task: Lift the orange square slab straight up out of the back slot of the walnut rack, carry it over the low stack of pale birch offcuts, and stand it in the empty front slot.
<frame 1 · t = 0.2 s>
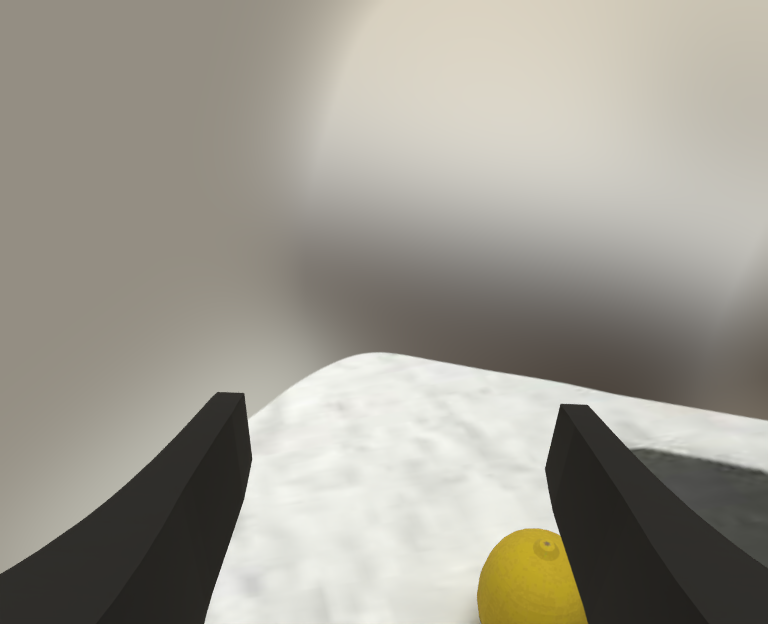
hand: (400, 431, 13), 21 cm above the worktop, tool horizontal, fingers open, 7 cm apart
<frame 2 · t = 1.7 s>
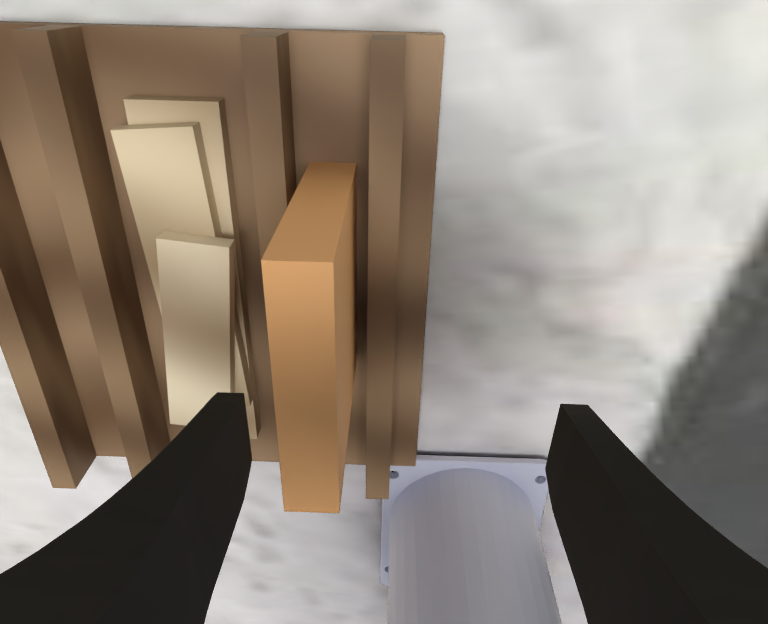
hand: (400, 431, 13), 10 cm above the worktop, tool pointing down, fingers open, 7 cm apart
orange square slab: (335, 268, 22), point 1 cm above the worktop, touching rack
offcut stack: (206, 287, 22), point 1 cm above the worktop, touching rack
rack: (226, 276, 23), on the worktop
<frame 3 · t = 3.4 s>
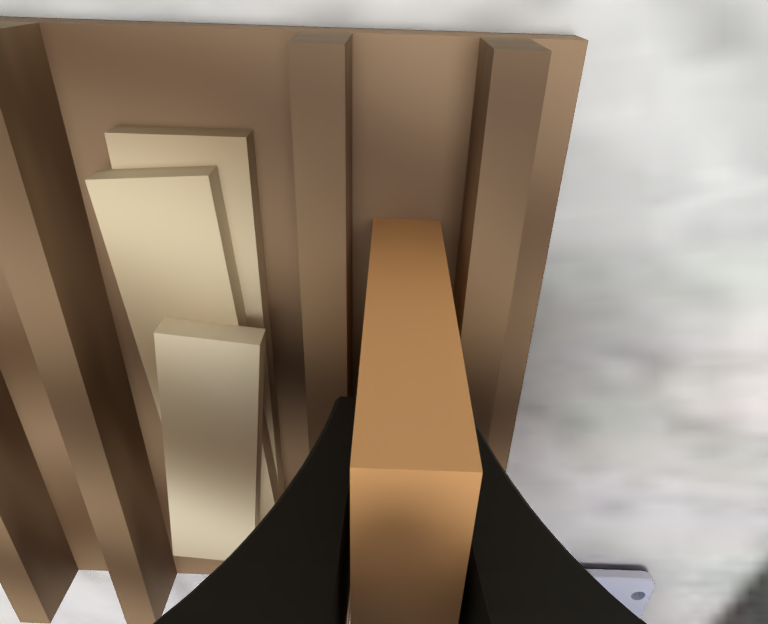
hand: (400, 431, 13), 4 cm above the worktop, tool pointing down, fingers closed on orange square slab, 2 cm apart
orange square slab: (399, 356, 16), point 1 cm above the worktop, touching gripper, rack
offcut stack: (222, 378, 16), point 1 cm above the worktop, touching rack
rack: (247, 358, 17), on the worktop
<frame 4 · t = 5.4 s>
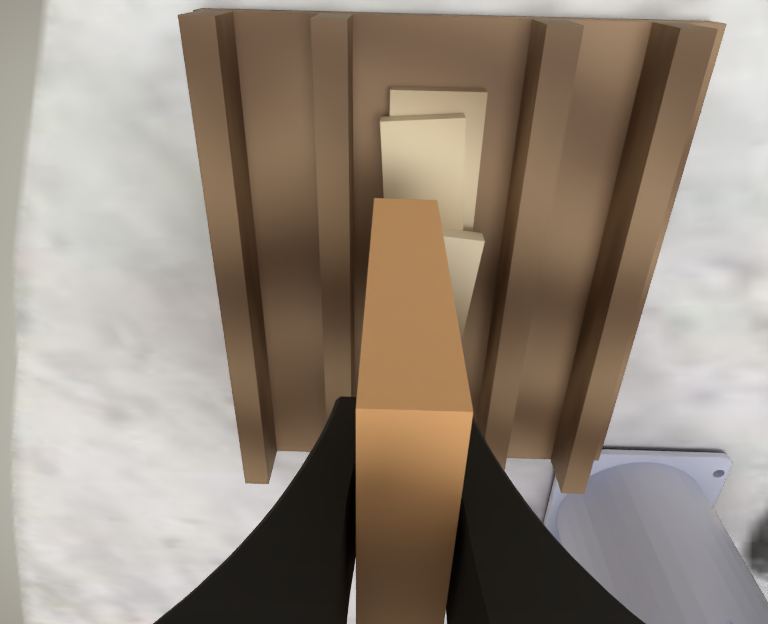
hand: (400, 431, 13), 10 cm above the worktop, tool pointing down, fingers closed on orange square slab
orange square slab: (399, 330, 17), point 6 cm above the worktop, touching gripper
offcut stack: (424, 281, 22), point 1 cm above the worktop, touching rack
rack: (436, 270, 23), on the worktop
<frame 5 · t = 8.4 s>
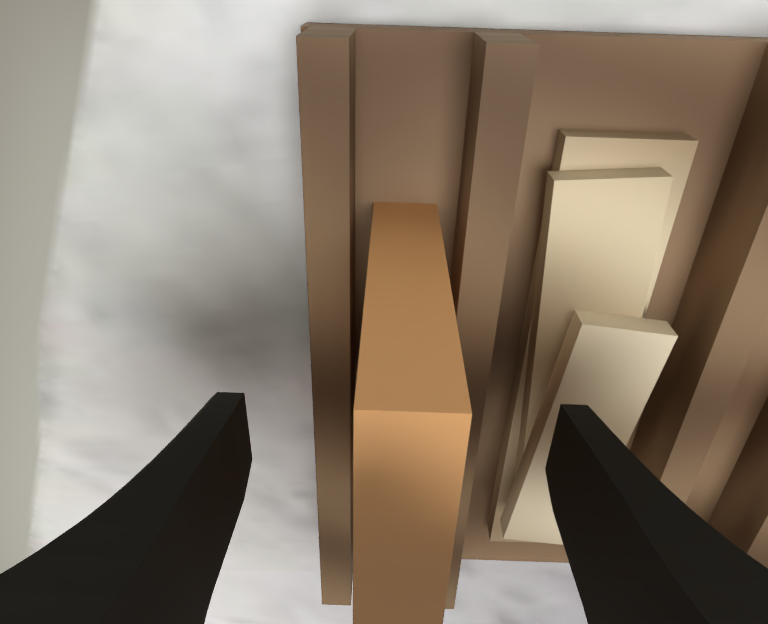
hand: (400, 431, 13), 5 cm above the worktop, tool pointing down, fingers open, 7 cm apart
orange square slab: (398, 334, 17), point 1 cm above the worktop, touching rack
offcut stack: (565, 369, 17), point 1 cm above the worktop, touching rack
rack: (573, 351, 18), on the worktop
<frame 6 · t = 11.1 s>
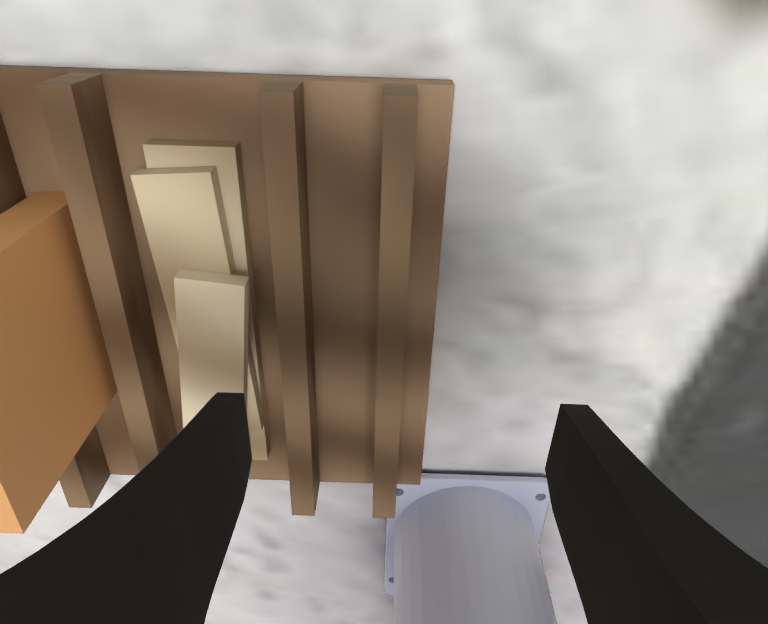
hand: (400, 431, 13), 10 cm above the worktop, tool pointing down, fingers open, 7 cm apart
orange square slab: (87, 290, 22), point 1 cm above the worktop, touching rack
offcut stack: (219, 318, 23), point 1 cm above the worktop, touching rack
rack: (238, 306, 24), on the worktop
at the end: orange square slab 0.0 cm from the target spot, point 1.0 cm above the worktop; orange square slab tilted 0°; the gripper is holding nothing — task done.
